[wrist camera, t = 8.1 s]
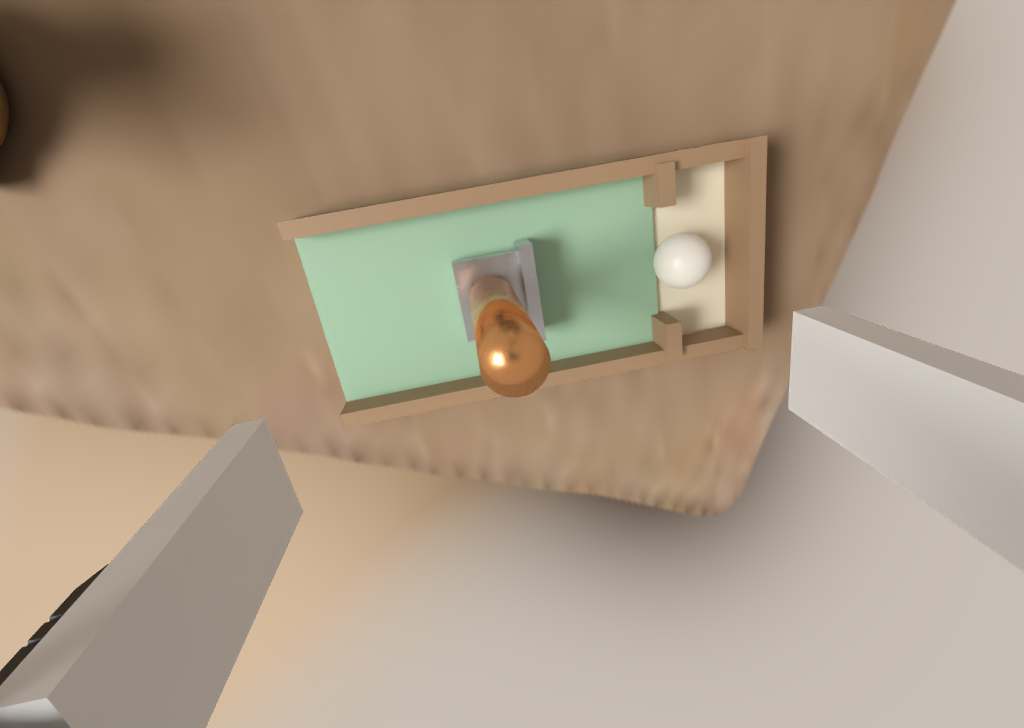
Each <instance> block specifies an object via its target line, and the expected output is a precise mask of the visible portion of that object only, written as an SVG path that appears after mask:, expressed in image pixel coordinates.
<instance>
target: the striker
mask: <svg viewBox="0 0 1024 728" xmlns="http://www.w3.org/2000/svg"><path fill="white" fill-rule="evenodd" d="M514 247H515V249H513V250H507V251H502V252H497V253H491V254H486V255H480V256H475V257H470V258H464V259H459V260H454V261H452V267H453V272H454V277H455V281H456V286H457V291H458V296H459V300H460V305H461V310H462V315H463V319H464V324H465V329H466V334H467V339H468V342H470V341H476V348H477V355H478V362H479V369H480V373H481V376H482V379H483V381H484V382H485V384H486V385H487V386H488V387H489V388H490V389H491V390H492V391H494V392H495V393H497V394H499V395H502V396H506V397H521V396H525V395H528V394H530V393H532V392H534V391H535V390H537V389H538V388H539V387H540V386H541V385H542V384H543V383H544V381H545V380H546V378H547V376H548V374H549V371H550V367H551V357H550V353H549V350H548V348H547V346H546V344H545V343H544V341H546V334H545V328H544V321H543V314H542V307H541V301H540V294H539V287H538V280H537V273H536V267H535V260H534V253H533V246H532V243H531V242H530V241H529V240H527V239H522V240H516V241H514Z"/></svg>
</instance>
